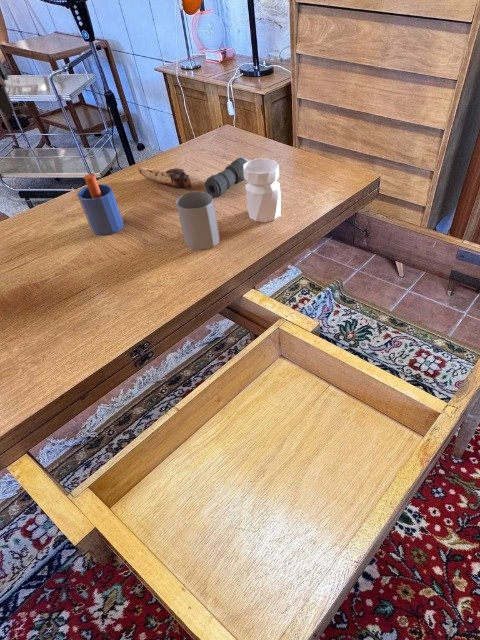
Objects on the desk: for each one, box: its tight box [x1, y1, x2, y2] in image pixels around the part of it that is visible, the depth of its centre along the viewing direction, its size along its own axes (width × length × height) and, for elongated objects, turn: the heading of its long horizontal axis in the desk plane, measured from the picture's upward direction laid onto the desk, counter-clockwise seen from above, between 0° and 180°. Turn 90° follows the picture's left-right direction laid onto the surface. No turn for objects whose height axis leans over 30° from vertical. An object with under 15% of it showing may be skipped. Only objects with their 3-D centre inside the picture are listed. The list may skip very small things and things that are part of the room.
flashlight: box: [204, 156, 249, 198], centre depth 123 cm, size 15×5×5 cm, turn 149°
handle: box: [83, 173, 102, 199], centre depth 107 cm, size 3×3×12 cm
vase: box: [243, 158, 282, 223], centre depth 111 cm, size 9×9×12 cm
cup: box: [175, 190, 221, 251], centre depth 104 cm, size 8×8×10 cm
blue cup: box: [76, 183, 125, 236], centre depth 109 cm, size 8×8×9 cm
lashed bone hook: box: [138, 166, 193, 188], centre depth 127 cm, size 9×5×18 cm
